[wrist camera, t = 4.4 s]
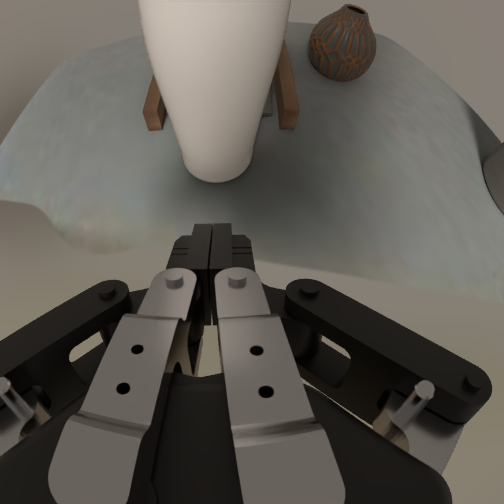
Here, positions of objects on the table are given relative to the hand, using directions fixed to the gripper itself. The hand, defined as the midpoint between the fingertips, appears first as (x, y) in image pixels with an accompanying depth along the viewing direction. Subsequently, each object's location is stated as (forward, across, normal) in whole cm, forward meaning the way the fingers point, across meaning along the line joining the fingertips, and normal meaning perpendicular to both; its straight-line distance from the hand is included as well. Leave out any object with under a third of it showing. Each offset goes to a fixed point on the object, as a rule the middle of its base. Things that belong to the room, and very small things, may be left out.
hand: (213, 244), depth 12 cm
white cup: (+12, 0, -1) cm, 12 cm away
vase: (+21, -12, -11) cm, 27 cm away
